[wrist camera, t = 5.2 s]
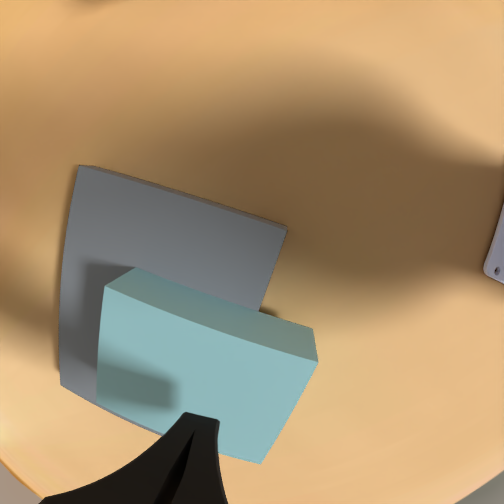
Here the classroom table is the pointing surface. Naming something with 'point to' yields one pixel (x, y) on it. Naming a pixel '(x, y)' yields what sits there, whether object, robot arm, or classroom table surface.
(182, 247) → the rubber pad
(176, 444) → the robot arm
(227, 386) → the teal slab
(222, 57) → the classroom table surface
